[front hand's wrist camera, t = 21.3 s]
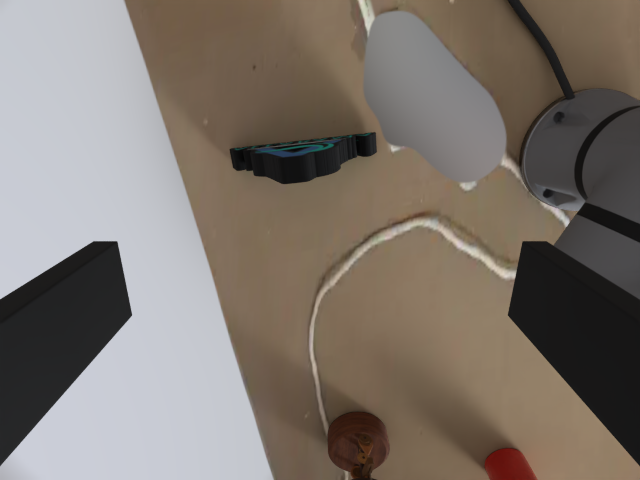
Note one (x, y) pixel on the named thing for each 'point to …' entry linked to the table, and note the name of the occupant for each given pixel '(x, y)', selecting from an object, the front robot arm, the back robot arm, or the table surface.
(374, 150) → the decorative sign
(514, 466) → the red cylinder
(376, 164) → the table surface
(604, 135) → the front robot arm
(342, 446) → the brown wooden figurine
